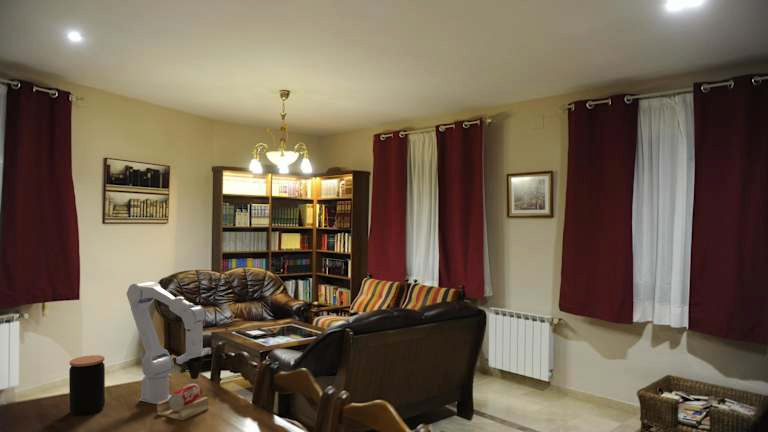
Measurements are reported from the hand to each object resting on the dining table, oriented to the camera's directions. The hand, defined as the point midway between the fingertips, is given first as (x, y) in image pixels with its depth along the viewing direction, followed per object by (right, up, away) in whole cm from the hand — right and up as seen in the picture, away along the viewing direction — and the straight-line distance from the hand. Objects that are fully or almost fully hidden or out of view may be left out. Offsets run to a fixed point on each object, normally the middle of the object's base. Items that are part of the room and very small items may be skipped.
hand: (194, 378), depth 182 cm
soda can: (-1, -6, +3) cm, 7 cm away
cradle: (-2, -10, -5) cm, 11 cm away
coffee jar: (-36, -10, -4) cm, 38 cm away
